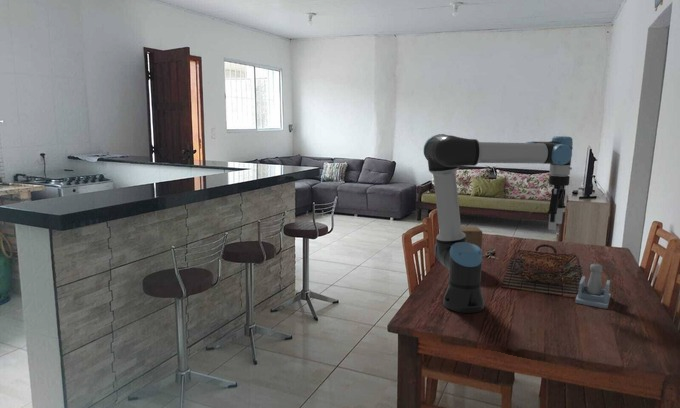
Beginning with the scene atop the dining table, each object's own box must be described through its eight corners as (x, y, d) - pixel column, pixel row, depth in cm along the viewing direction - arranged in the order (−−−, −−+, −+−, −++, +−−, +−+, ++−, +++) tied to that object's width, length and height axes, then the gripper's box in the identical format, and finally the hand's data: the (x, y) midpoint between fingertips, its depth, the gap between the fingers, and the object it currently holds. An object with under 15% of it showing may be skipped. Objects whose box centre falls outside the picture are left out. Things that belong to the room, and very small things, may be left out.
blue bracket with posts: (607, 308, 182) (609, 289, 181) (575, 302, 188) (576, 284, 186) (610, 297, 194) (612, 279, 192) (579, 291, 199) (581, 274, 198)
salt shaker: (603, 299, 187) (607, 267, 185) (587, 298, 188) (590, 266, 186) (599, 294, 193) (602, 262, 190) (583, 293, 194) (586, 261, 191)
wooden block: (480, 273, 223) (482, 231, 219) (458, 273, 223) (460, 231, 219) (474, 266, 233) (477, 226, 229) (454, 266, 233) (455, 226, 229)
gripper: (564, 179, 183) (559, 233, 186) (574, 172, 203) (570, 222, 207) (543, 177, 187) (538, 231, 190) (555, 171, 207) (551, 220, 211)
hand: (555, 226), depth 199 cm, fingers open, 13 cm apart
